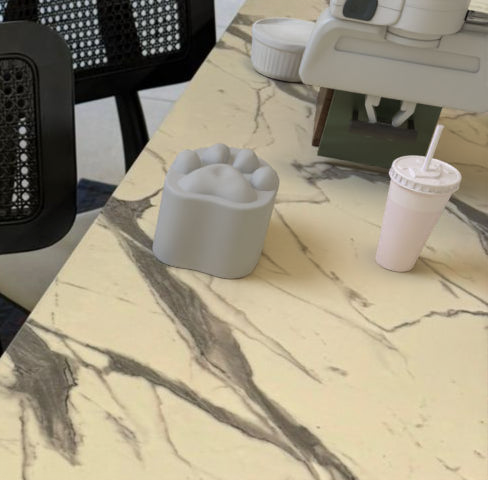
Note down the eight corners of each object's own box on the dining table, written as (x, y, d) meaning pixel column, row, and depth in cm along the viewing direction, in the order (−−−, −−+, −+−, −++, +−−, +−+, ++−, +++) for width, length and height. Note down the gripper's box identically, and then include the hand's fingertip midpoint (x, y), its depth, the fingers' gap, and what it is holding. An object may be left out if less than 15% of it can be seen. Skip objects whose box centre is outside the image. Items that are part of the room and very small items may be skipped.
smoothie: (348, 259, 101) (393, 120, 92) (382, 239, 104) (428, 104, 95) (406, 286, 98) (459, 145, 88) (439, 265, 101) (493, 127, 92)
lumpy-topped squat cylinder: (143, 259, 98) (158, 174, 92) (173, 202, 107) (188, 122, 101) (250, 284, 96) (273, 199, 90) (271, 224, 105) (292, 143, 99)
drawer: (420, 191, 111) (448, 112, 106) (314, 172, 113) (337, 93, 107) (415, 125, 125) (440, 51, 120) (321, 109, 127) (342, 36, 121)
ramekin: (282, 50, 145) (291, 11, 141) (343, 77, 138) (355, 37, 135) (226, 63, 140) (235, 22, 136) (287, 91, 133) (298, 50, 130)
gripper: (527, 10, 103) (475, 142, 112) (321, -22, 106) (288, 109, 115) (533, 29, 98) (479, 165, 107) (318, -5, 101) (284, 131, 110)
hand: (378, 136), depth 111 cm, fingers closed, pressing on drawer
